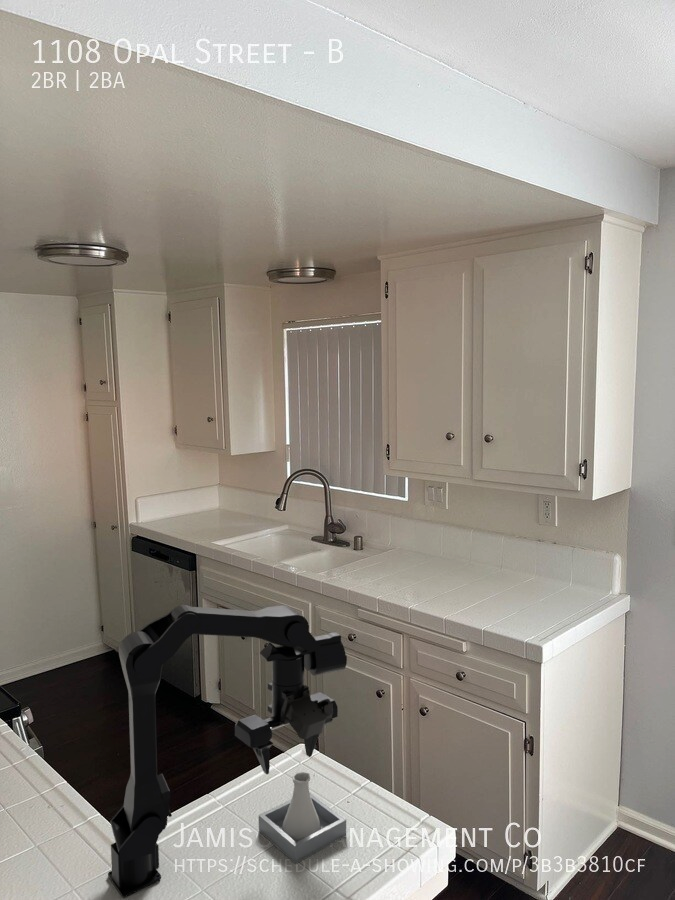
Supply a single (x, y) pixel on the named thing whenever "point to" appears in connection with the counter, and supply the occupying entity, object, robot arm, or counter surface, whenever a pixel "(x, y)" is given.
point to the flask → (301, 810)
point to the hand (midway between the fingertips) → (288, 764)
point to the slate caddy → (297, 851)
